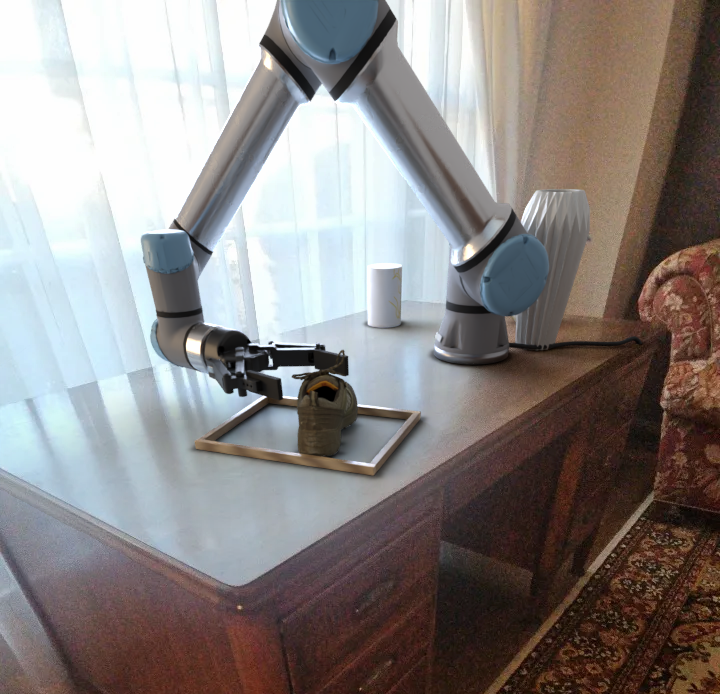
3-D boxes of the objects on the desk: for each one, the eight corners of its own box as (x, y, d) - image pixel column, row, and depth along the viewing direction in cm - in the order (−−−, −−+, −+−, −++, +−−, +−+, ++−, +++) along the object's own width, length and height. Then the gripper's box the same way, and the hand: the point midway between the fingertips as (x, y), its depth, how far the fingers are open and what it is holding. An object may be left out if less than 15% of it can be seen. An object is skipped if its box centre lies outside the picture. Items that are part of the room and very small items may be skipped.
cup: (398, 328, 137) (399, 269, 129) (364, 327, 138) (364, 268, 130) (403, 320, 143) (404, 263, 135) (371, 319, 144) (370, 262, 136)
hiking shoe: (362, 407, 94) (359, 326, 86) (342, 461, 80) (337, 371, 72) (311, 406, 95) (304, 326, 87) (282, 459, 81) (271, 370, 73)
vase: (577, 351, 119) (612, 191, 102) (517, 356, 117) (542, 193, 100) (549, 335, 129) (576, 187, 112) (493, 340, 127) (512, 189, 110)
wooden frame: (420, 418, 92) (421, 411, 91) (373, 475, 76) (373, 467, 76) (266, 400, 100) (265, 393, 99) (195, 449, 84) (194, 441, 83)
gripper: (280, 360, 102) (371, 382, 91) (162, 397, 88) (252, 429, 77) (275, 312, 97) (370, 331, 86) (149, 343, 83) (244, 370, 72)
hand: (315, 377), depth 82 cm, fingers open, 13 cm apart
